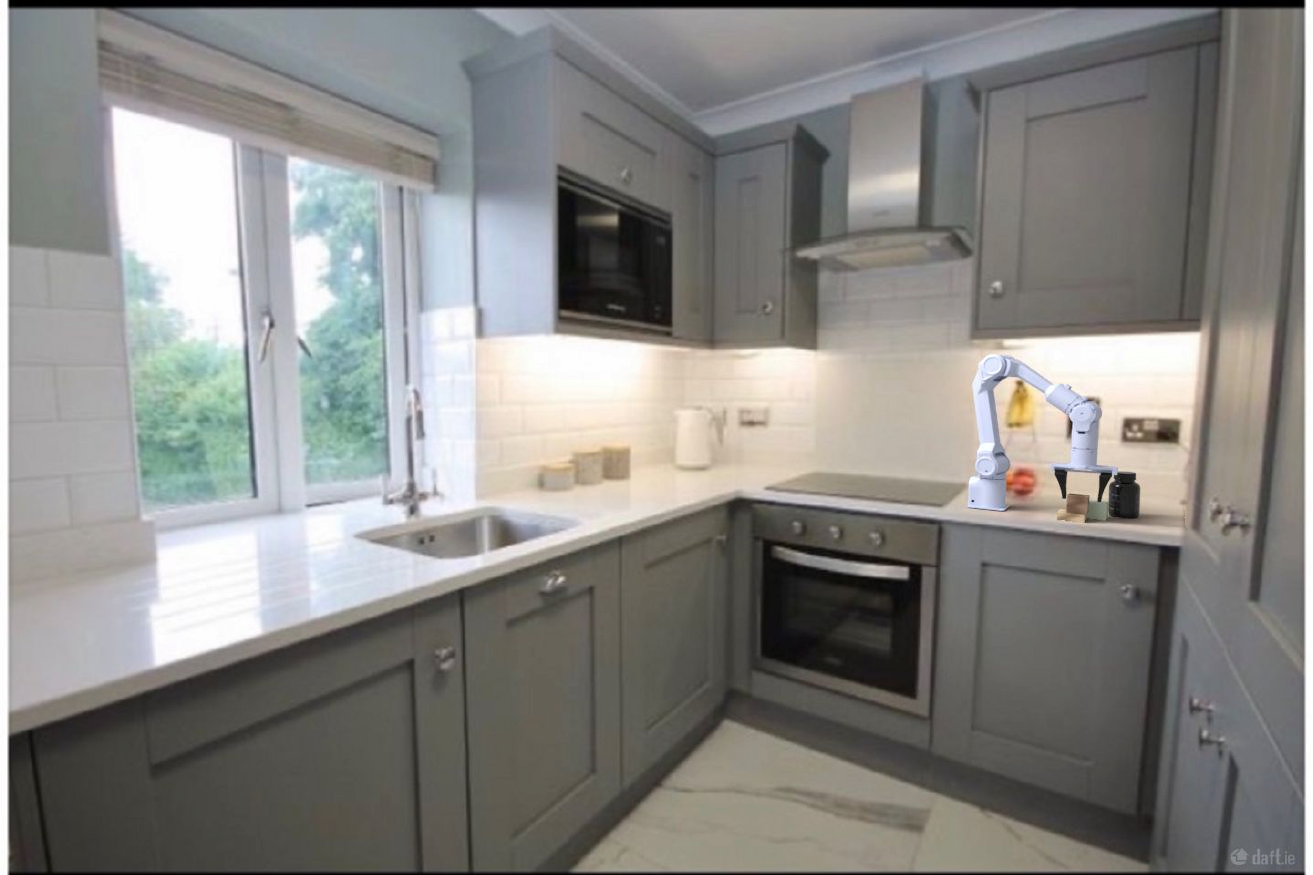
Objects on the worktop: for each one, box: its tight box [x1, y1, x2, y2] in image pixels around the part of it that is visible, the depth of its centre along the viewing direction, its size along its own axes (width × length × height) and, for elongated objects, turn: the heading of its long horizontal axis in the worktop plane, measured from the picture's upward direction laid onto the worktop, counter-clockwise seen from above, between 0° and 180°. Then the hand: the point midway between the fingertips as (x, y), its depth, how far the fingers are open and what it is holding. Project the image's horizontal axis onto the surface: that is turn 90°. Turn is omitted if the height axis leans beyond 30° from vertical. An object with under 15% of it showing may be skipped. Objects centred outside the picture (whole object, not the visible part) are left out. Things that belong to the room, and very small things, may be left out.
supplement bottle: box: [1107, 471, 1141, 520], centre depth 169 cm, size 7×7×12 cm
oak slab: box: [1056, 508, 1087, 524], centre depth 166 cm, size 6×6×2 cm
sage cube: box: [1086, 499, 1109, 522], centre depth 167 cm, size 4×4×4 cm
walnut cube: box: [1065, 492, 1090, 515], centre depth 165 cm, size 4×4×4 cm
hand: (1081, 499), depth 165 cm, fingers open, 7 cm apart
